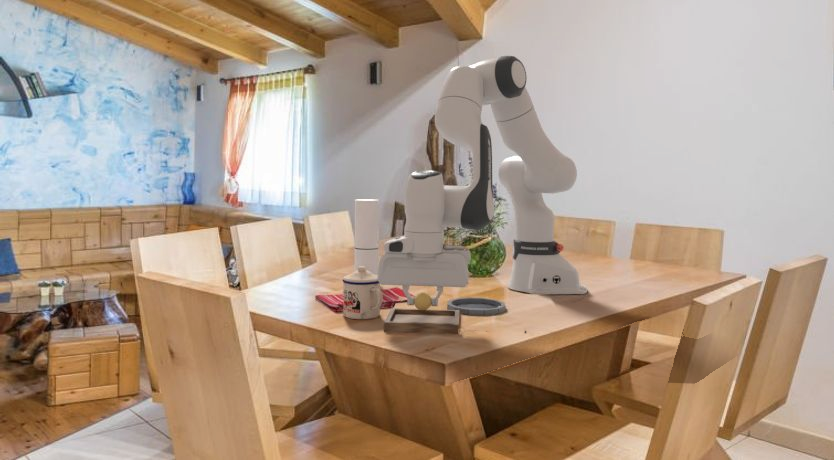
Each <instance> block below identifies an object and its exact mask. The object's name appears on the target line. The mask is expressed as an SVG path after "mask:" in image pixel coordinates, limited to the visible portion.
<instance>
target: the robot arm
mask: <svg viewBox="0 0 834 460" xmlns="http://www.w3.org/2000/svg"><path fill="white" fill-rule="evenodd" d="M527 78H528V77H527V72H526V67H525V66H524V64H523V62H522V61H521V60H520V59H518V57H516V56H515V55H514V56H513V55H503V56H499V57H495V58H490V59H489V58H488V59H485V60H481V61H478V62H476V63H473V64H471V65H458V66H455V67H452V68H451V69H450V70H449V71H448V73H447V75H446V77H445V79H444V82H443V84H442V86H441V88H440V91H439V94H438V99H437V103H436V108H435V113H434V125H435V129H436V131H437V132H438V134H439V135H440V136H441V137H442V138H443V139H444V140H445V141H447V142H448V143H450V144H452V145H454V146H457V147H459V148H462V149H465V150H467V151H469V152H470V153H471V154H472V182H471V183H469V184H468V185H447V184H444V177H443V173H442V172H441V171H437V170H434V169H423V170H416V171H413V172H411V173H409V175H408V177H407V182H406V186H405V187H406V188H405V194H404V195H405V196H404V215H405V224H404V228H403V229H404V231H403V232H404V233H403V235H402V236H398V237H395V238H391V239H389V240H386V241H385V242H384V244H383V251H384V253H383V254H382V255H381V256H380V259H379V261H378V282H379V283H380V286H386V285H387V286H402V290H403V292H404V294H405V296H406V297H407V298H406V297H405V298H406V300H407V302H406V303H407V305H406V306H415V305H414V296H415V295H414V296H410V294H411V293H410V292H409V290H410V288H411V286H415V287H417V286H418V287H436V291H437V293H436V295H435V296H432V297H431V302H432V303H431V306H430V307H438V306H439V298H440V297H441V295H442V294H443V292H444V288H446V287H447V288H466V287H467V286H468V284H469V267H468V265H469V264H470V263H471V261H472V259H471V256H472V255H471V254H472V253H471V250H470V249H469V248H468V247H466V246H465V245H463V244H458V245H455V244H445V228H458V229H459V228H460V229H461V228H462V229H466V230H472V231H481V230H483V229H484V228H486V227H487V226H489V224H490V223H491V222H492V221H493V219H494V215H495V201H494V200H495V199H494V193H493V151H492V146H493V145H492V138H491V133H490V130H489V128H488V126H487V125H485V124H483V123H482V117H481V115H482V110H483V106H488V105H490V108H491V112H492V114H493V117H494V120H495V123H496V125H497V127H498V130H499V134H500V136H501V139H502V141H503V144H504V145H505V146H506V148H508V149H509V150H511V151H513V152H514V153H515V155H512V156H511V155H510V156H509V157H505V158H504V159H503V160H502V161H501V163H500V164H499V165H500V166H499V167H498V179H499V182H500V184H501V186H502V187H504V188H505V190H507V191H506V192H507V193H508V194H509V196H510V199H511V202H512V205H513V211H514V222H515V223H514V224H515V225H514V227H515V229H514V239H513V241H512V259H513V262H512V268H511V274H510V279H509V282H508V285H507V288H508V289H510V290H512V291H516V292H523V293H528V294H531V295H584V294H587V292H588V288H587V286H586V285H585V284H582V283H580V276H579V271H578V269H577V268H576V266H575V265H573V264H572V263H571V262H570V261H568V259H566V258H565V257H563V256H562V255H561V252H563V251H564V249H565V246H564V245H563V244H562V243H559V242H556V241H555V240H554V238H555V236H554V235H555V214H554V212H553V211H552V210H551V209H550V207H548V206H547V205H546V203H545V201H544V198H543V194H558V193H564V192H567V191H570V190H571V189H572V188H573V187H574V185H575V183H576V181H577V176H578V171H577V167H576V164H575V162H574V161H573V159H572V158H570V157H568V156H566V155H565V154H563V153H562V152H561V151H560V150H559V149H558V148H557V147H556V146H555V145H554V143H553V142H552V141H551V140H550V138H549V137H548V135H547V134H546V133H545V131H544V130H543V127H542V125H541V123H540V120H539V116H538V115H537V112H536V109H535V106H534V104H533V100H532V99H531V96H530V93H529V92H528V89H527V88H526V84H527ZM409 293H410V294H409Z"/></svg>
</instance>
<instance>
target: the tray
mask: <svg viewBox="0 0 834 460" xmlns="http://www.w3.org/2000/svg"><path fill="white" fill-rule="evenodd" d="M383 331H384V332H387V333H389V332H390V333H414V334H415V333H417V334H420V333H421V334H423V333H424V334H448V335H451V334H452V335H459V334H460V313H459V310H448V309H435V308H433V309H432V308H428V309H426V310H419V309H417V308H405V307H403V308H402V307H400V308H399V307H394V308H390V311H389V312H388V314H387V316H386V318H385V319H384V322H383Z"/></svg>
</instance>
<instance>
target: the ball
mask: <svg viewBox="0 0 834 460" xmlns="http://www.w3.org/2000/svg"><path fill="white" fill-rule="evenodd" d="M414 296H415V298H414V305H413V306H414V307H415V309H419V310H426V309H430V307H432V306H431V303H432V302H431V298H432V297H431V295H430V294H429V293H427V292H418V293H417V294H415V295H414Z"/></svg>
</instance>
